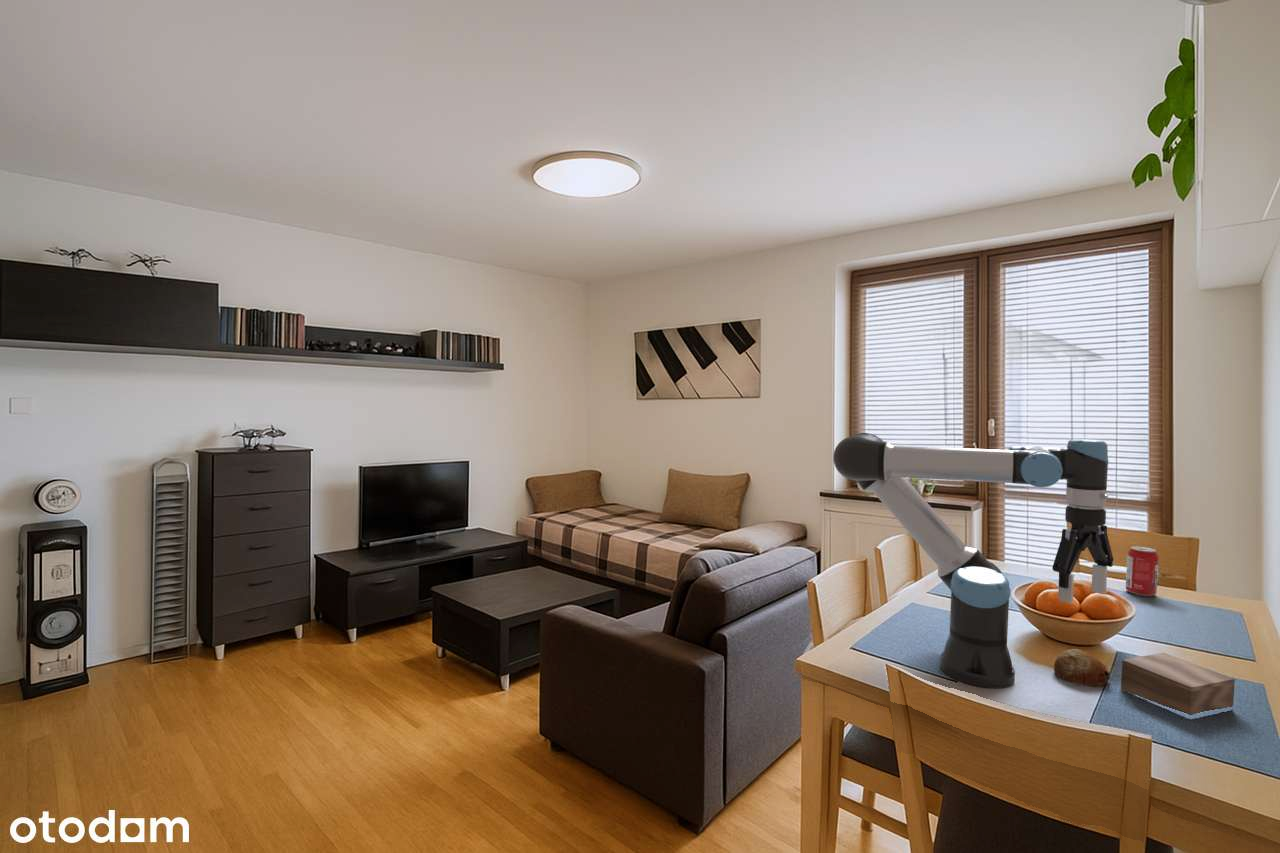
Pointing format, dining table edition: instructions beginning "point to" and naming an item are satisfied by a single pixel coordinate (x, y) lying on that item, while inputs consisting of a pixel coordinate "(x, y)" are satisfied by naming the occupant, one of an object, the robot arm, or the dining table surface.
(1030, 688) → the dining table surface
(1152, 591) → the soda can
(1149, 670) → the walnut box
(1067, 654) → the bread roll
